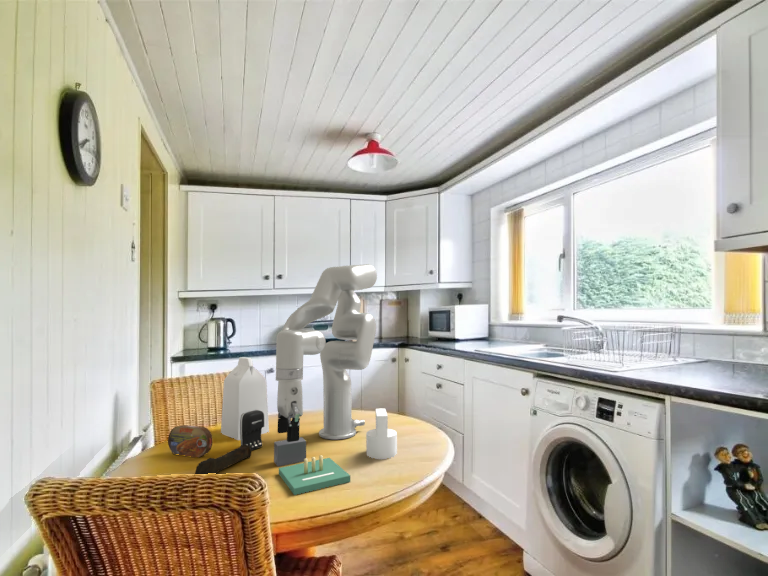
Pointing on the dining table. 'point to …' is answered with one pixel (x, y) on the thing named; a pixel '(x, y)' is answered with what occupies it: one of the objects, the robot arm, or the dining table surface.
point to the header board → (313, 475)
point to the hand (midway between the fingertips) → (287, 436)
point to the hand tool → (223, 460)
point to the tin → (190, 440)
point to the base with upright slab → (381, 438)
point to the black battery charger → (251, 428)
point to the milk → (243, 397)
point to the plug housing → (289, 452)
